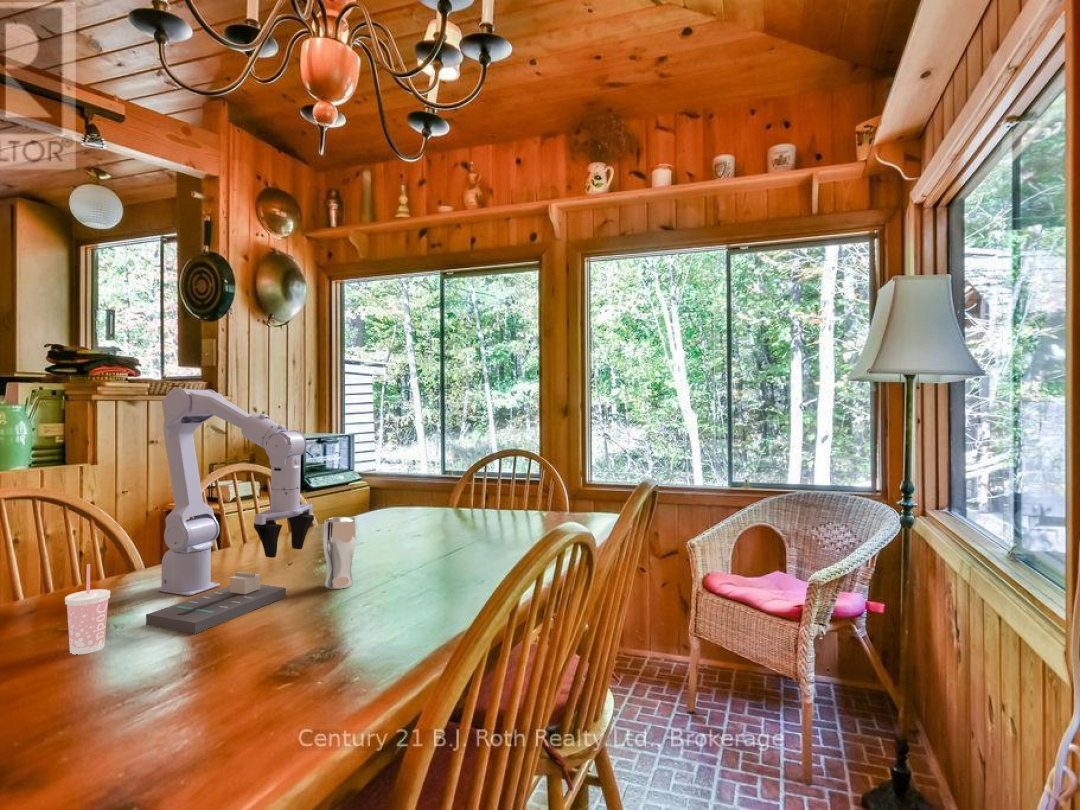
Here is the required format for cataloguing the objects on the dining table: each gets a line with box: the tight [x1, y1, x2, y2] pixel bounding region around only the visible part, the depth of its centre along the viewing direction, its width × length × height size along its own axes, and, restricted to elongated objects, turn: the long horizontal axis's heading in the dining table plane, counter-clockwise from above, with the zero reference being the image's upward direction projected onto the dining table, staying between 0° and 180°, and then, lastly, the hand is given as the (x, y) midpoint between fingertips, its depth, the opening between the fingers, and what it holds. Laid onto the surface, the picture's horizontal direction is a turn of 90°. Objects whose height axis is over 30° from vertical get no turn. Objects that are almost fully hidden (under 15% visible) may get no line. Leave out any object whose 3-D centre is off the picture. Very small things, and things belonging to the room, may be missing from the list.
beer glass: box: [322, 516, 357, 590], centre depth 136 cm, size 7×7×15 cm
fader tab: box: [229, 571, 261, 594], centre depth 124 cm, size 4×4×4 cm
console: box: [145, 583, 287, 635], centre depth 118 cm, size 12×22×2 cm, turn 161°
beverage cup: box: [64, 563, 111, 655], centre depth 99 cm, size 6×6×14 cm
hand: (284, 552), depth 126 cm, fingers open, 7 cm apart
